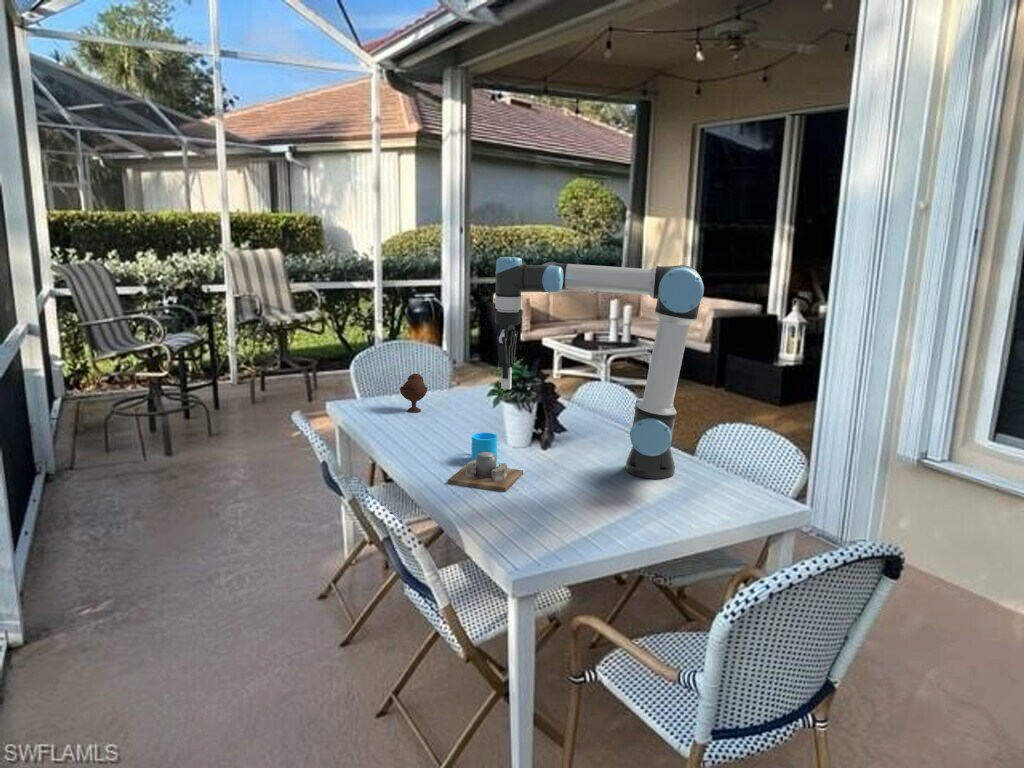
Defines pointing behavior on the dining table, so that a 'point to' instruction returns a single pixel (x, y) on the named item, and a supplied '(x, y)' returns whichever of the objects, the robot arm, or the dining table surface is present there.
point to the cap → (485, 464)
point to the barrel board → (498, 481)
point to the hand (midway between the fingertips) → (506, 388)
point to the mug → (484, 444)
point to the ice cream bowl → (414, 391)
